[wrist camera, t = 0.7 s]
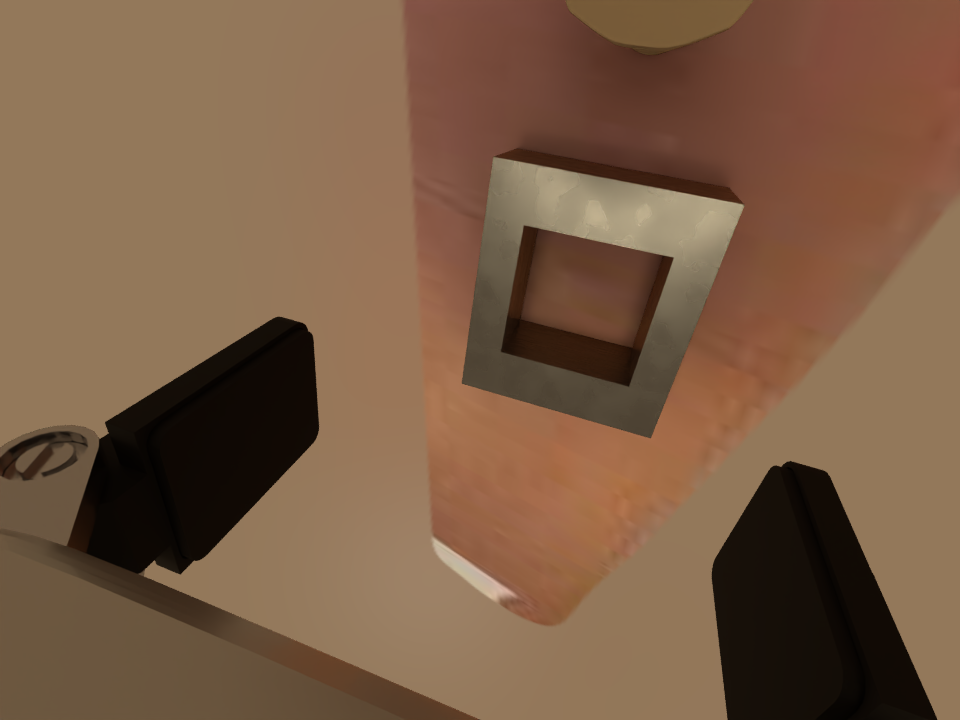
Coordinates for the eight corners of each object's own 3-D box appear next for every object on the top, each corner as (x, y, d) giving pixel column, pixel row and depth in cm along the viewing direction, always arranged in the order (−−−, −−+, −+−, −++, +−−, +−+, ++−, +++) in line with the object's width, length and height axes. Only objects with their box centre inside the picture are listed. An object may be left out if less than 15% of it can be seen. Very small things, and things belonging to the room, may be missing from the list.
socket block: (517, 148, 34) (493, 156, 28) (729, 187, 31) (744, 204, 26) (484, 349, 42) (461, 383, 36) (650, 394, 39) (650, 438, 34)
